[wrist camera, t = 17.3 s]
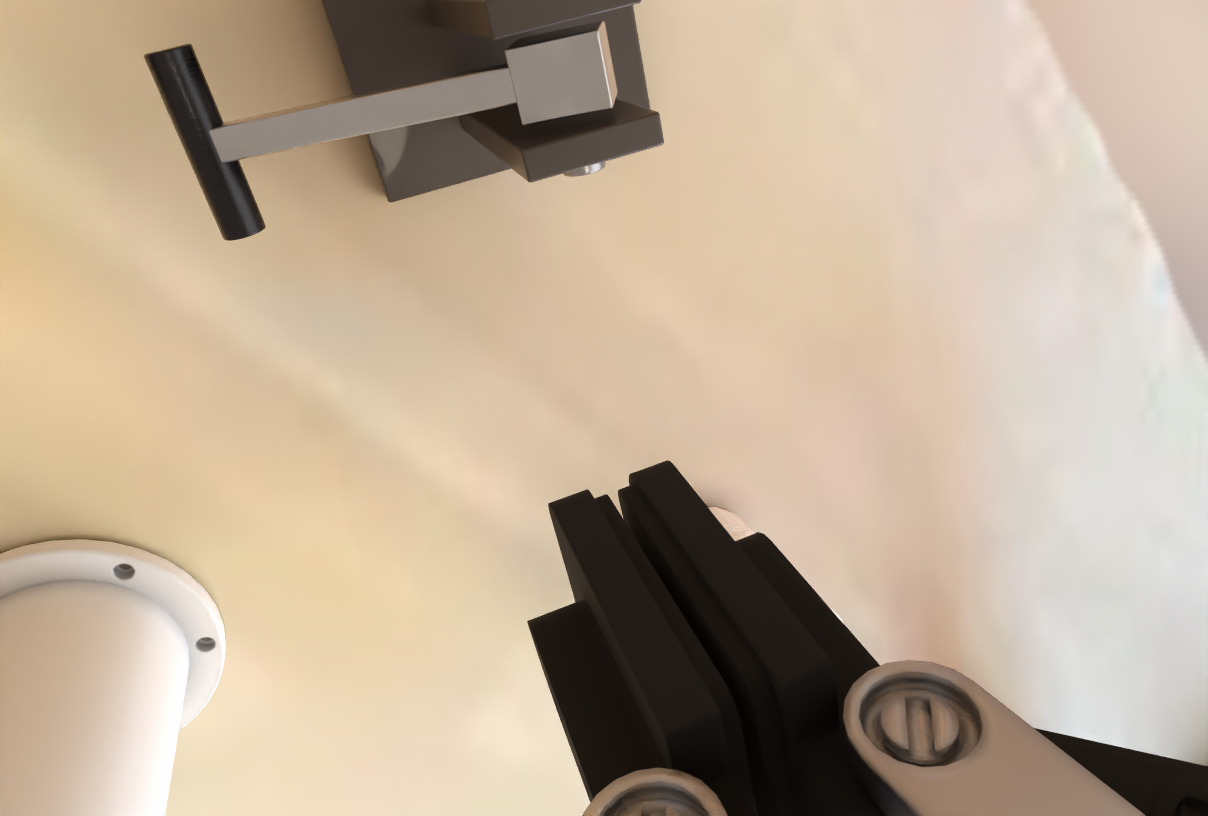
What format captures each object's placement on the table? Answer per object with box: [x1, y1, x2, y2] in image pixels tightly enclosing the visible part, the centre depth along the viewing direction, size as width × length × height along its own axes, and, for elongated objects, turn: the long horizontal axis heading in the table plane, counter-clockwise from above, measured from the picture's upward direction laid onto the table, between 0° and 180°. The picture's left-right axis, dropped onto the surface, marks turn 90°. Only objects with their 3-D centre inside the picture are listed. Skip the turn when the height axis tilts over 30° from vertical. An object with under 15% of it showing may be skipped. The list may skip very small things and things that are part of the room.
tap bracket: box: [321, 0, 664, 202], centre depth 30 cm, size 12×9×13 cm
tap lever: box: [144, 21, 617, 240], centre depth 27 cm, size 14×6×2 cm, turn 102°
